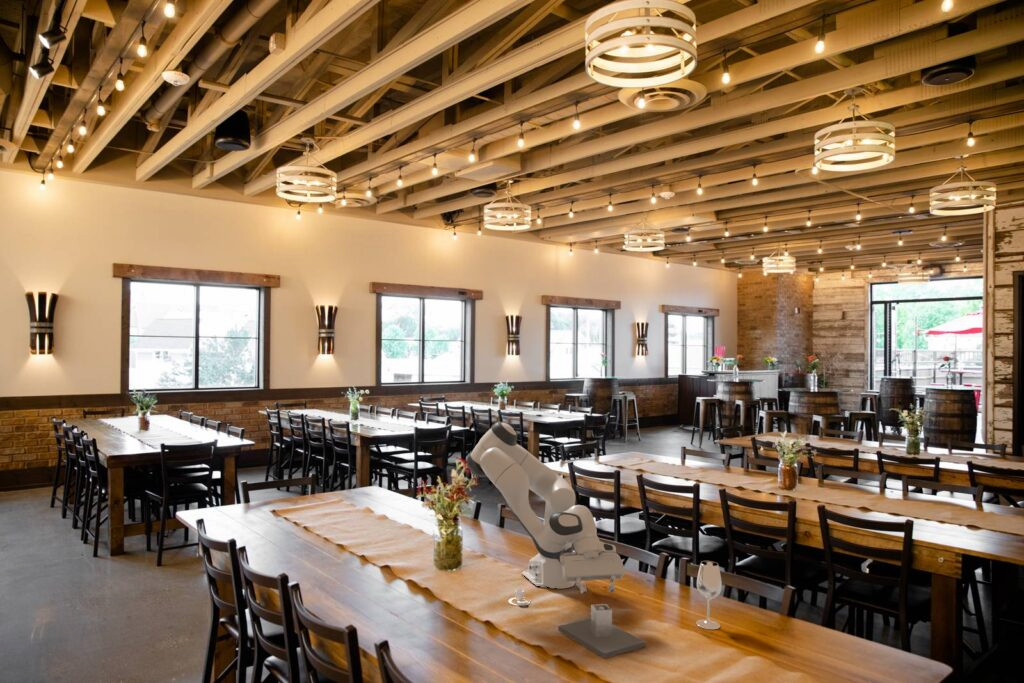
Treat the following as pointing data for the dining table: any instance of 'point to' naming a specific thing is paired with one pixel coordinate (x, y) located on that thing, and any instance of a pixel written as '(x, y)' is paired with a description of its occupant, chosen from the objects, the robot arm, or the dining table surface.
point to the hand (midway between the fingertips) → (598, 591)
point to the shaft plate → (601, 638)
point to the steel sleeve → (601, 621)
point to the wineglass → (709, 589)
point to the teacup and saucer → (519, 598)
